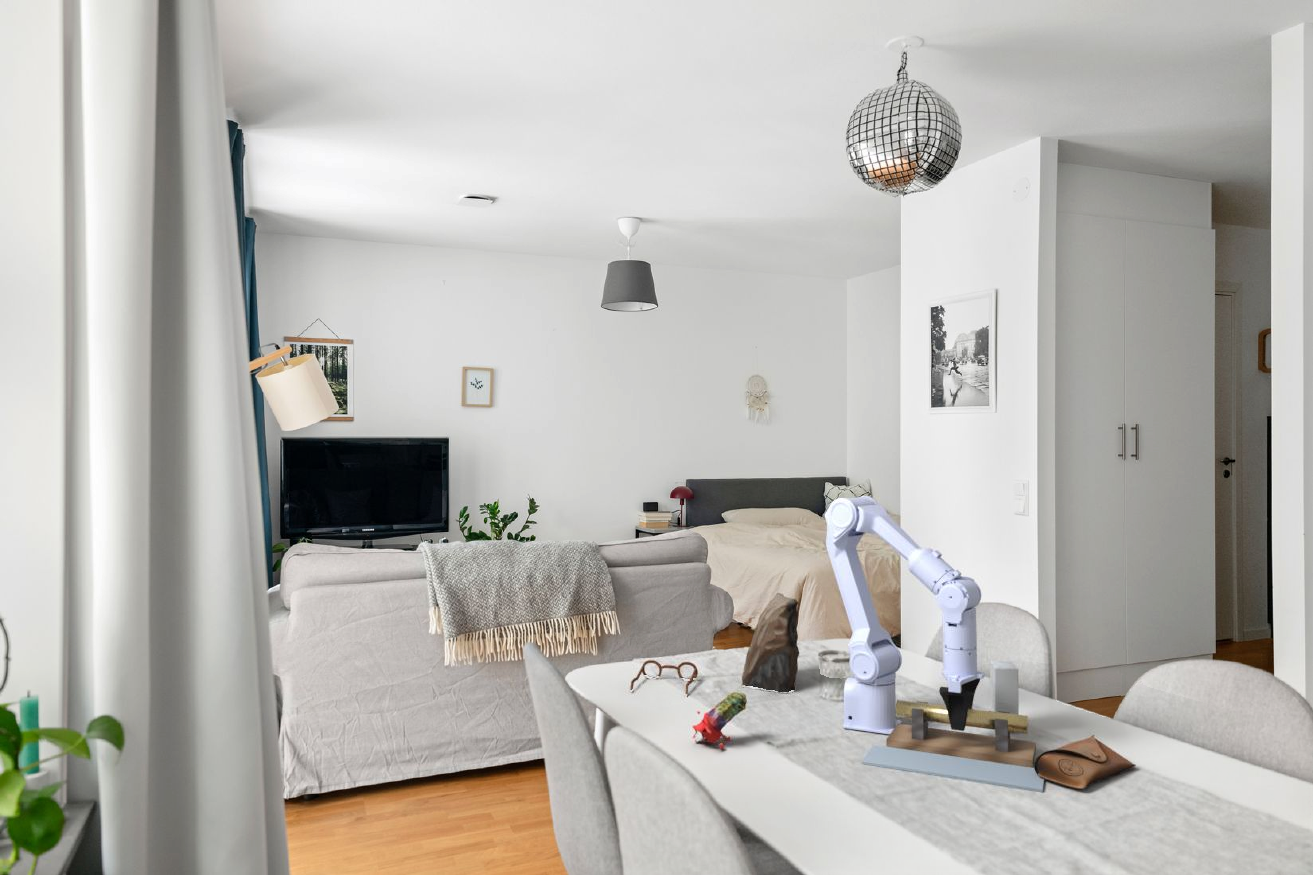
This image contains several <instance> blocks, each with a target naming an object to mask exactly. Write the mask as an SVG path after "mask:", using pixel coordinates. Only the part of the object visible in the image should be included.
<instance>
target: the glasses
mask: <svg viewBox="0 0 1313 875" xmlns="http://www.w3.org/2000/svg"><path fill="white" fill-rule="evenodd" d="M647 664H654V665H656V666H657V667H658V670H659V671H658V674H657V676H660V677H661V676H662V671H663V669H673V670H674V669H675V670H676V672H677V675H678V677H679V679H680V678H685V677H683V676H682V674H681V668H682V667H683V666H687V665H688V666H691V667H692V668H693V672H692V675H691V676H690V678H689V679H690V681H686V684H685V694H689V686H690V685H691V684H692V683H693V678H696V679H697V677H698V676H699V671H698V670H699V669H698V668H697V666H696V664H694V663H693V662H690V661H683V662H681V663H679V665H678V666H676V665H670V664H665V665H662V664H661V663H659V662H658V661H656V660H653V659H648V660H645V661H644V662H643V664H642V666H641V667H640V670H639V671H638V674H637V675H636V677H635V678H634V677H633V679H632V680H631V681H630V689H629V691H630V690H632V689H633V690H634V684H635V682H636V681H638V680H639V678H640V676H641V675H643V676H644V675H648V674H647V673H646V670H645V668H646V667H645V666H647Z"/></svg>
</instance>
